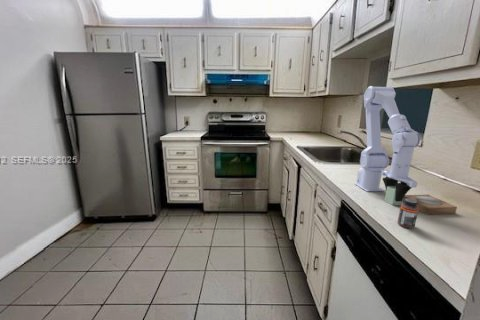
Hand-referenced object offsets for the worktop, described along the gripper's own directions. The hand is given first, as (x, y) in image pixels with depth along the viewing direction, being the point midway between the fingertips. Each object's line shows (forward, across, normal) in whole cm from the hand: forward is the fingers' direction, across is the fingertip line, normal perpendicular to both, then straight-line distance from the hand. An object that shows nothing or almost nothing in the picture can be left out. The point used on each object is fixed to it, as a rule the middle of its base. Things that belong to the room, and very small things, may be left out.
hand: (393, 198), depth 87 cm
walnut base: (+2, +4, +10) cm, 11 cm away
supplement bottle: (+2, +16, -9) cm, 18 cm away
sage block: (+2, 0, 0) cm, 2 cm away
